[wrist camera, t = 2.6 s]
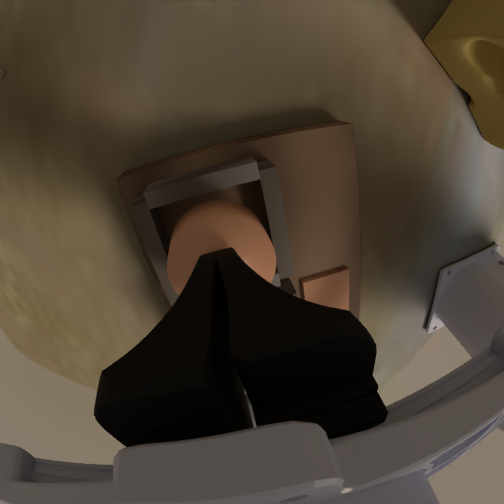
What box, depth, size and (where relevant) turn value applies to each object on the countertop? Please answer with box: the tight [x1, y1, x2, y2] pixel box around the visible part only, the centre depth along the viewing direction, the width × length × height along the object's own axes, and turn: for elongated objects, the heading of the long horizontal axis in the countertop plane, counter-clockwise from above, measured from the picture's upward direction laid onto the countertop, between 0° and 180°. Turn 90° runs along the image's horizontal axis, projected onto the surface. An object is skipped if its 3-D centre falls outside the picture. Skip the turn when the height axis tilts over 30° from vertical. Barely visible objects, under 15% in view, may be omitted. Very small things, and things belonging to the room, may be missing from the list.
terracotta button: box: [167, 200, 276, 295], centre depth 13 cm, size 4×4×2 cm
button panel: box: [116, 121, 361, 396], centre depth 18 cm, size 12×22×3 cm, turn 12°
